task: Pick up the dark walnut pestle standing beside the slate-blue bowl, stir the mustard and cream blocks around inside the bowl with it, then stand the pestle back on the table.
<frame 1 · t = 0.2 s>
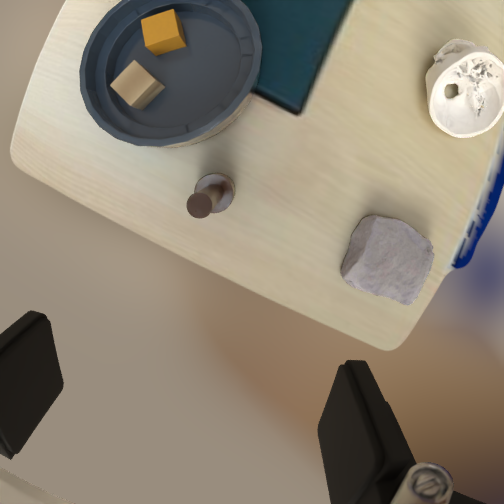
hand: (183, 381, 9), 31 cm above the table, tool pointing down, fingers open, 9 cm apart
cream block: (143, 88, 33), point 1 cm above the table, touching bowl
skull bowl: (448, 87, 33), on the table
pestle: (216, 190, 38), on the table
stone block: (386, 253, 40), on the table
mustard block: (168, 38, 31), point 1 cm above the table, touching bowl
bowl: (176, 68, 33), on the table
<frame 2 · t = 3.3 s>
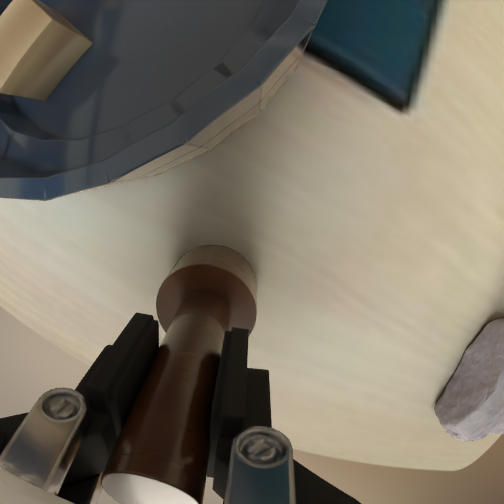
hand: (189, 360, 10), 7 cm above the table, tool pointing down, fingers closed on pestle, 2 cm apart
cream block: (51, 54, 12), point 1 cm above the table, touching bowl
pestle: (213, 286, 16), on the table, touching gripper
stone block: (499, 365, 18), on the table
bowl: (121, 4, 12), on the table
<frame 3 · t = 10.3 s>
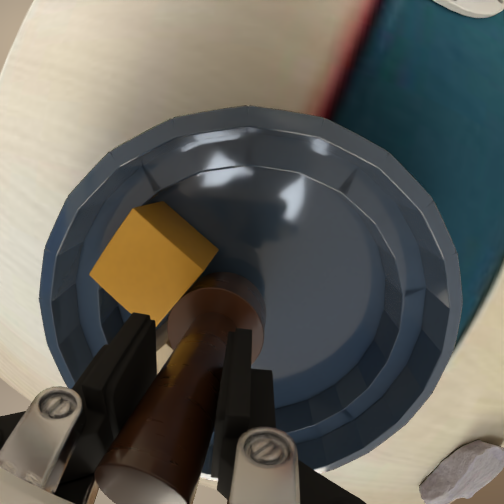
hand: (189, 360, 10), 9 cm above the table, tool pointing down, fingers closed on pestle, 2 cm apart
cream block: (185, 346, 19), point 1 cm above the table, touching bowl
pestle: (224, 312, 17), point 2 cm above the table, tilted 8°, touching gripper, mustard block
stone block: (466, 460, 25), on the table
mustard block: (168, 252, 17), point 1 cm above the table, touching bowl, pestle
bowl: (250, 304, 19), on the table
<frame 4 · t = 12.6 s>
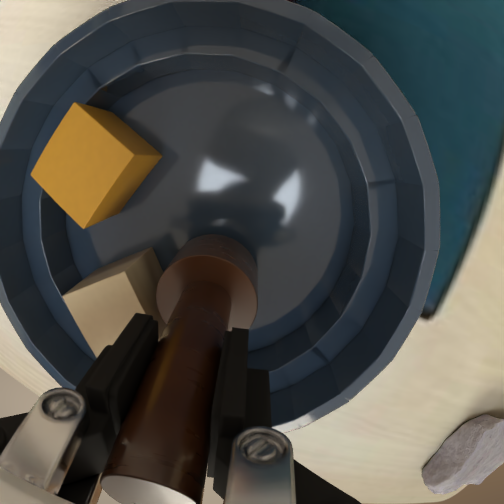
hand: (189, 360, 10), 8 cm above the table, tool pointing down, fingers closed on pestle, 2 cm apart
cream block: (137, 289, 17), point 1 cm above the table, touching bowl
pestle: (214, 275, 16), point 2 cm above the table, touching gripper
stone block: (473, 440, 23), on the table
mustard block: (114, 162, 15), point 1 cm above the table, touching bowl
bowl: (200, 221, 17), on the table
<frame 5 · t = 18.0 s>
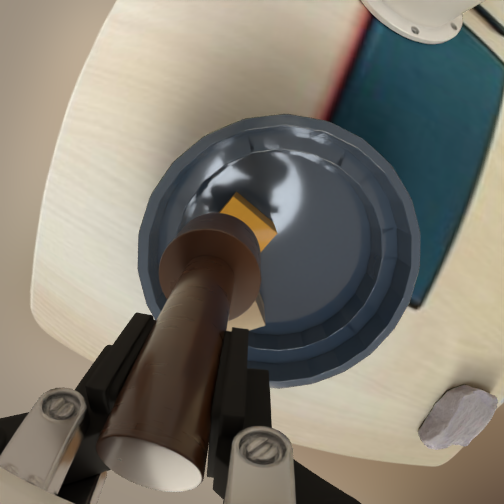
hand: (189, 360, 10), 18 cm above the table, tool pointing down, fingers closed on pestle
cream block: (234, 291, 28), point 1 cm above the table, touching bowl
pestle: (217, 254, 16), point 11 cm above the table, touching gripper
stone block: (457, 408, 34), on the table
mustard block: (239, 225, 26), point 1 cm above the table, touching bowl
bowl: (278, 247, 27), on the table
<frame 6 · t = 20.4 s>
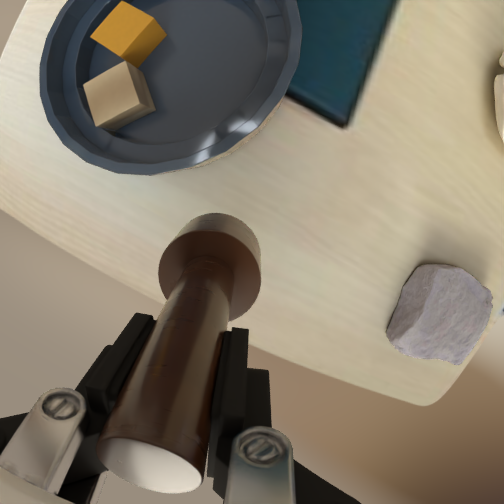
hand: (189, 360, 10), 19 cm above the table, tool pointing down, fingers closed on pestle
cream block: (129, 100, 24), point 1 cm above the table, touching bowl
pestle: (216, 255, 16), point 12 cm above the table, touching gripper
stone block: (439, 305, 30), on the table
mustard block: (137, 41, 22), point 1 cm above the table, touching bowl
bowl: (173, 59, 23), on the table
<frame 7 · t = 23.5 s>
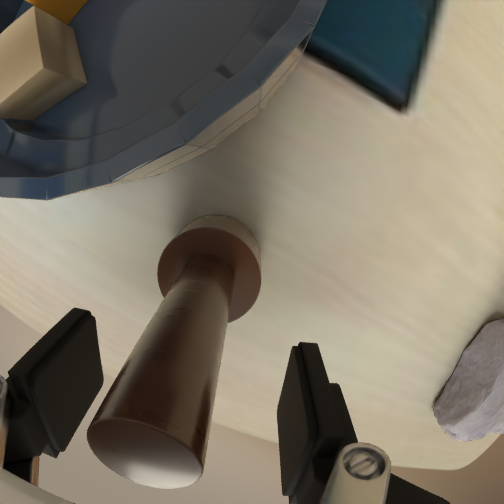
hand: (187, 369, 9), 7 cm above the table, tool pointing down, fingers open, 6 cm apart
cream block: (51, 73, 12), point 1 cm above the table, touching bowl
pestle: (216, 258, 16), on the table
stone block: (498, 366, 18), on the table
bowl: (122, 5, 12), on the table
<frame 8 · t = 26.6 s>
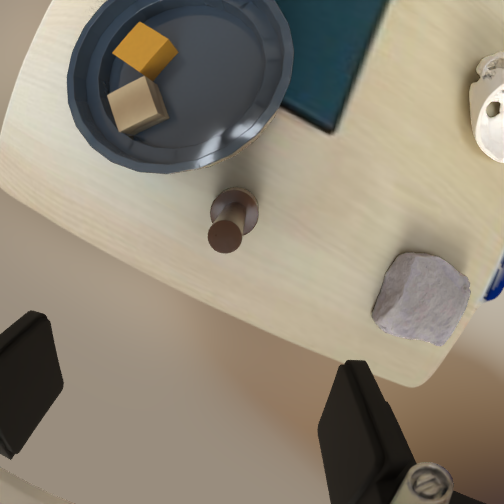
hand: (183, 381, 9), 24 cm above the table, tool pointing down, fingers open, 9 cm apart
cream block: (145, 109, 28), point 1 cm above the table, touching bowl
skull bowl: (488, 104, 27), on the table
pestle: (236, 208, 32), on the table
stone block: (420, 291, 34), on the table
mustard block: (152, 57, 26), point 1 cm above the table, touching bowl
bowl: (184, 73, 28), on the table
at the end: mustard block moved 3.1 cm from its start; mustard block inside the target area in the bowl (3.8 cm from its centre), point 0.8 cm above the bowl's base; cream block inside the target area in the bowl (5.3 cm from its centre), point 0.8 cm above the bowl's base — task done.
